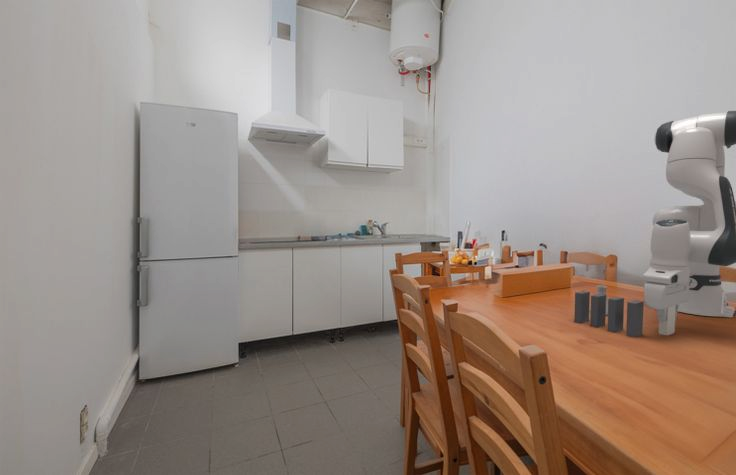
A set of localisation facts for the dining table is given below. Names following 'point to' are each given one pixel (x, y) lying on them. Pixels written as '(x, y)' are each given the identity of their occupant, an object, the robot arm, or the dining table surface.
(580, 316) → the domino
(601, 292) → the flask
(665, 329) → the domino
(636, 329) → the domino
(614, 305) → the domino
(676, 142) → the robot arm
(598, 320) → the domino
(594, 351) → the dining table surface
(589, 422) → the dining table surface
